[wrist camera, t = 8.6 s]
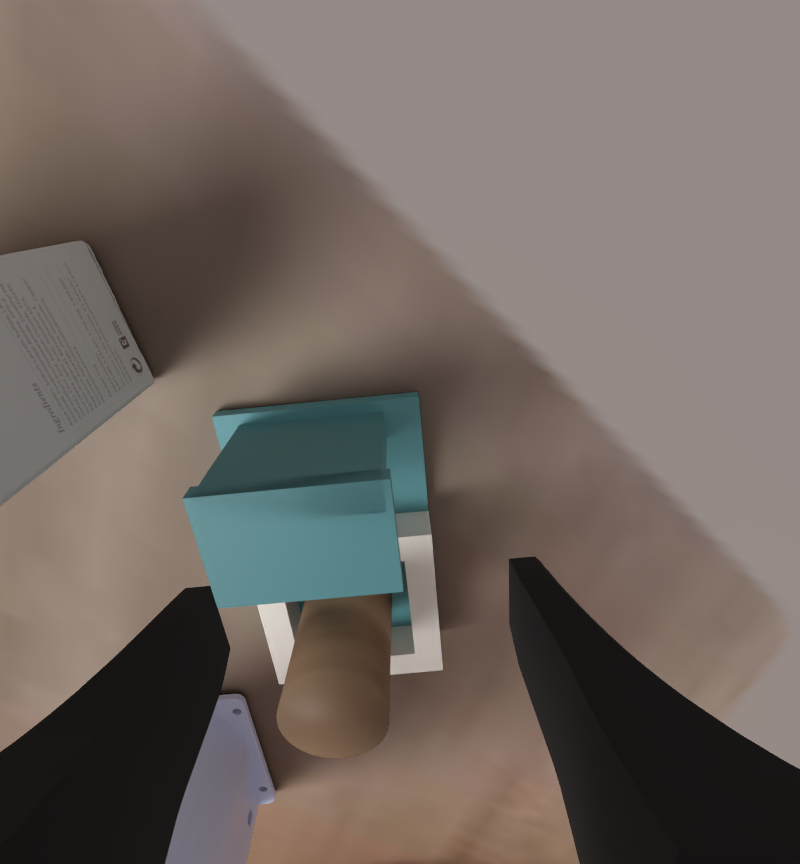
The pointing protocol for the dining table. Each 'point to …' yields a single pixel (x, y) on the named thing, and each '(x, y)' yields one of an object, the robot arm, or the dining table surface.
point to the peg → (339, 677)
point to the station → (322, 518)
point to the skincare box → (59, 358)
